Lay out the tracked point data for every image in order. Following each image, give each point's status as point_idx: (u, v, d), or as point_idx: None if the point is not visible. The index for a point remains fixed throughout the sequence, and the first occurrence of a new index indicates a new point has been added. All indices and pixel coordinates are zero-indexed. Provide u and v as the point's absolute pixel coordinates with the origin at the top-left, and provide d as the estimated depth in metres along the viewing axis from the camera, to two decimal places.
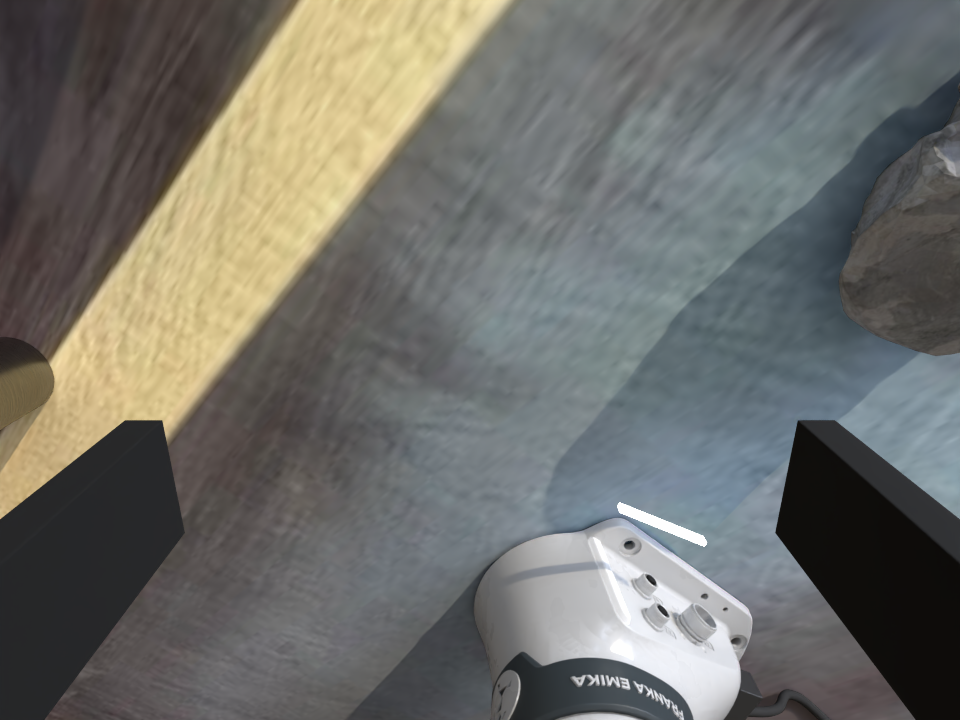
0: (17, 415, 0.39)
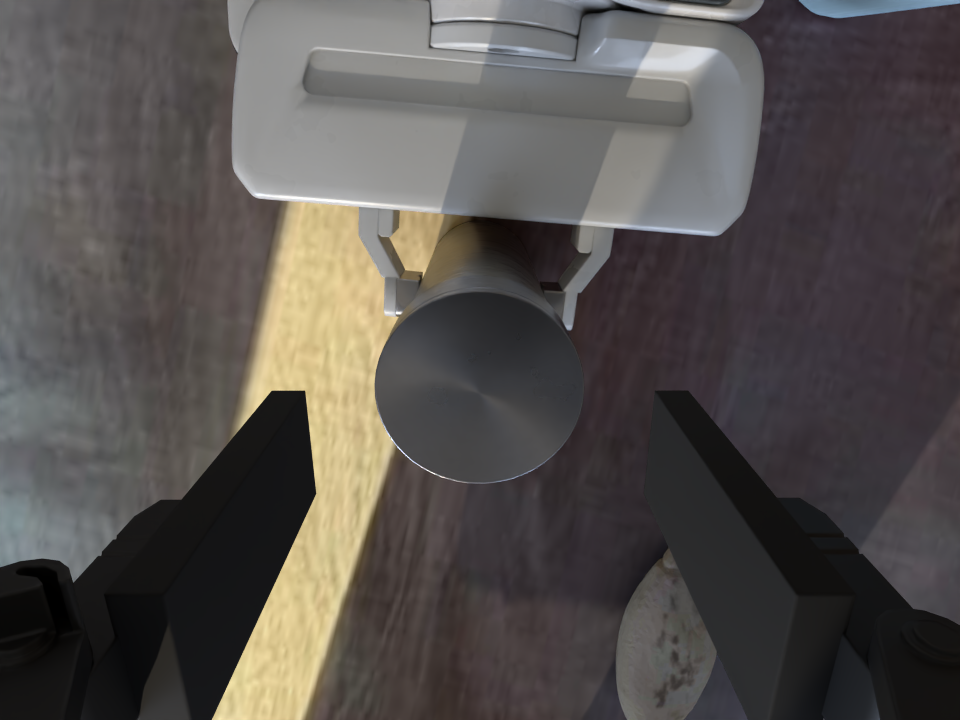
0: None
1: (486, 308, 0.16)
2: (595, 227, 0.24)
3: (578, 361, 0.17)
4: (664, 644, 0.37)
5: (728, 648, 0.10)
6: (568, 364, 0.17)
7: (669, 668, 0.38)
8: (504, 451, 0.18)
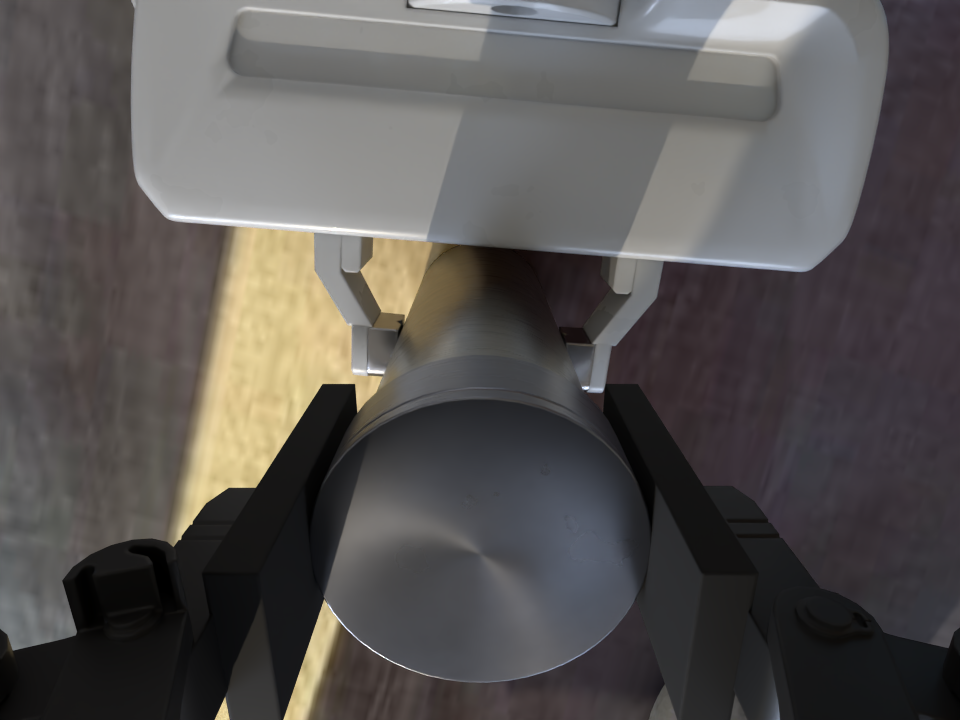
0: None
1: (492, 425, 0.10)
2: (638, 259, 0.18)
3: (644, 507, 0.10)
4: None
5: (656, 629, 0.10)
6: (627, 511, 0.10)
7: None
8: (520, 638, 0.11)
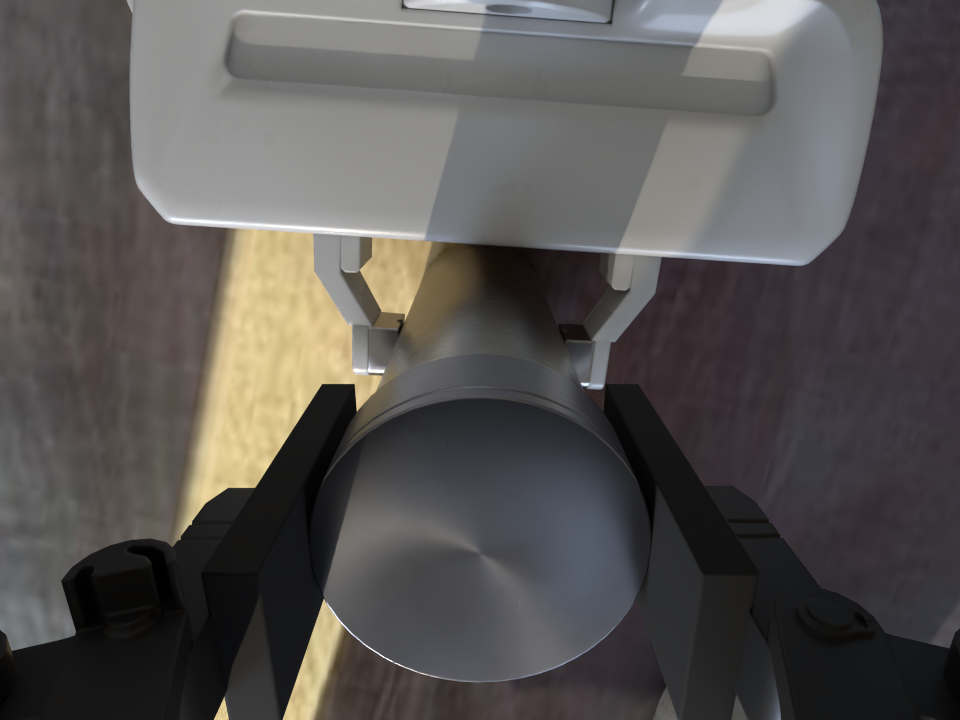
0: None
1: (343, 583, 0.11)
2: (636, 255, 0.18)
3: (367, 435, 0.10)
4: None
5: (656, 630, 0.10)
6: (379, 447, 0.10)
7: None
8: (572, 488, 0.10)
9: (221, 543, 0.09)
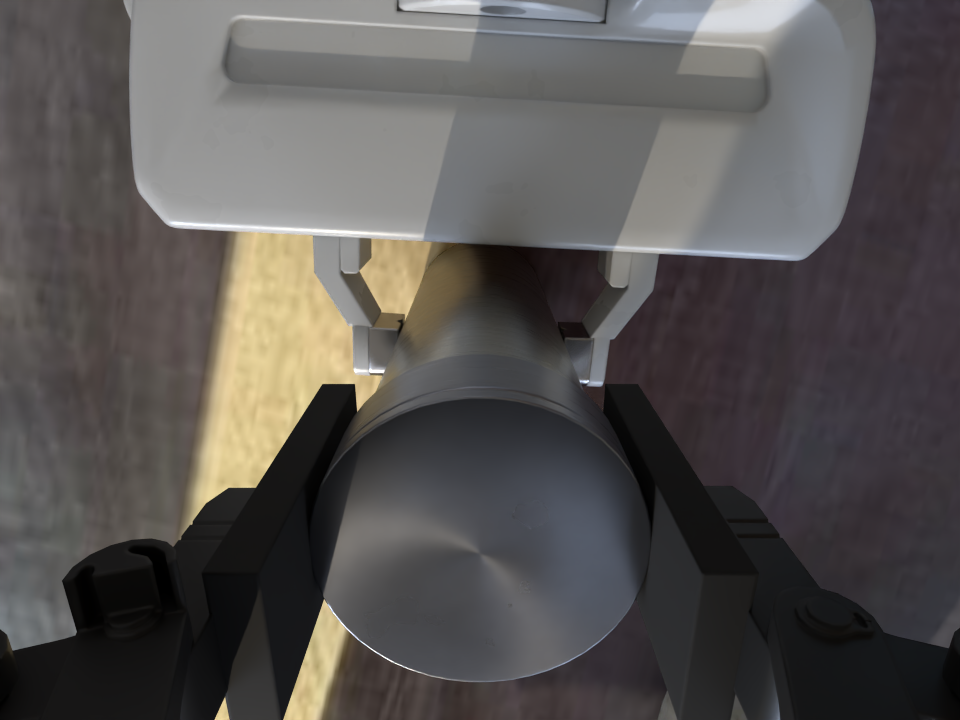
0: None
1: (554, 646, 0.11)
2: (633, 253, 0.18)
3: (395, 662, 0.11)
4: None
5: (656, 629, 0.10)
6: (403, 652, 0.11)
7: None
8: (376, 503, 0.10)
9: (222, 543, 0.09)
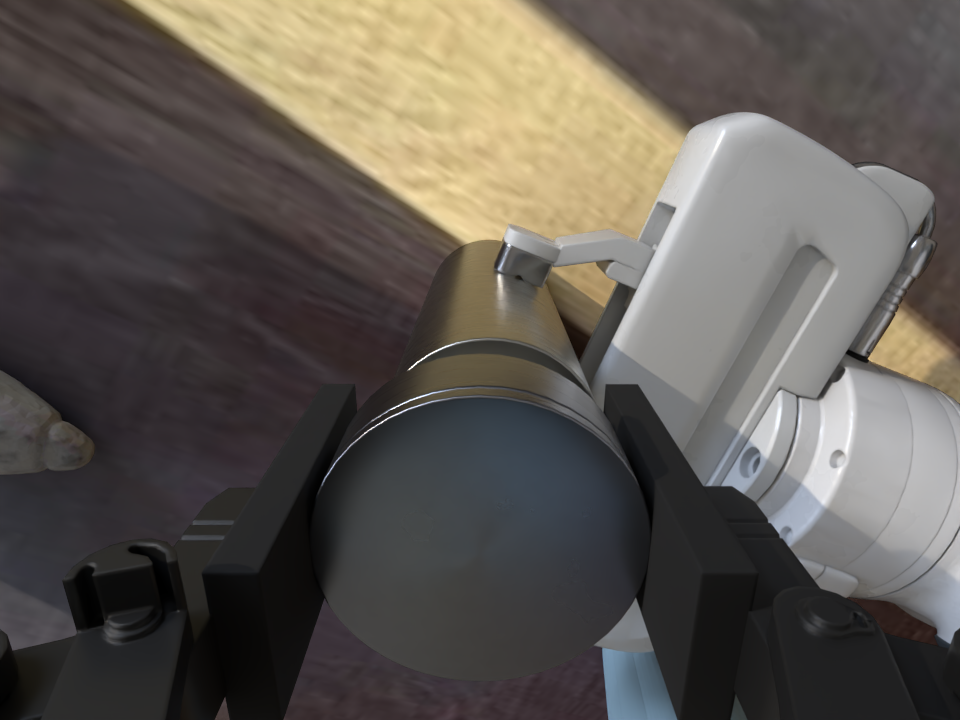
0: None
1: (572, 452, 0.10)
2: None
3: (639, 585, 0.11)
4: None
5: (656, 630, 0.10)
6: (624, 581, 0.11)
7: None
8: (458, 641, 0.11)
9: (222, 543, 0.09)
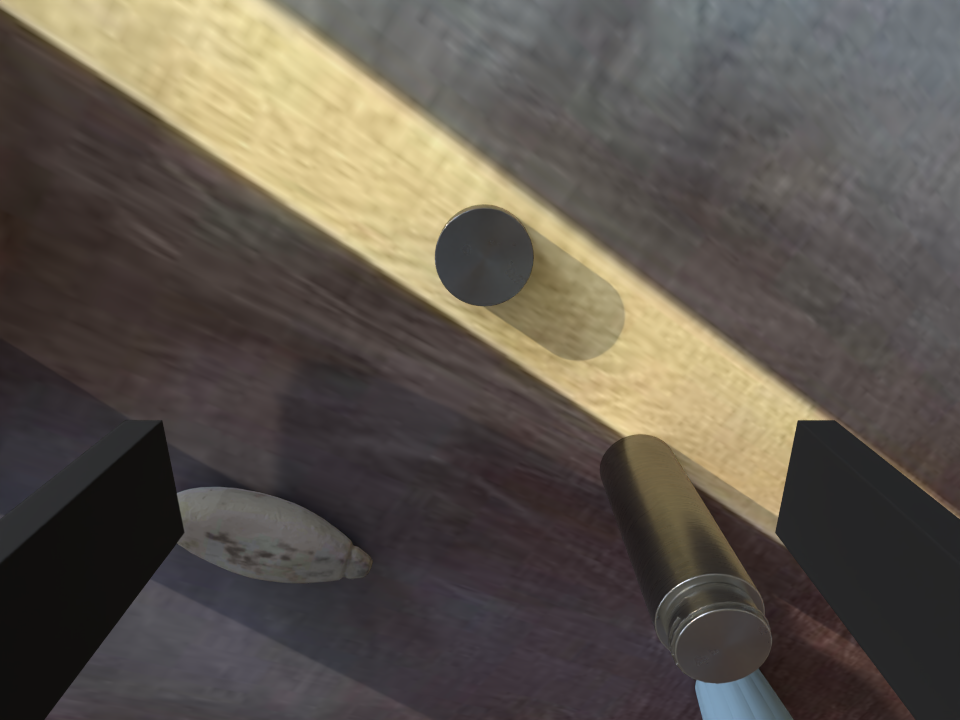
0: (674, 462, 0.39)
1: (509, 225, 0.35)
2: None
3: (530, 269, 0.36)
4: (281, 549, 0.41)
5: None
6: (526, 268, 0.36)
7: (252, 548, 0.41)
8: (477, 290, 0.37)
9: None
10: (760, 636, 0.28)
